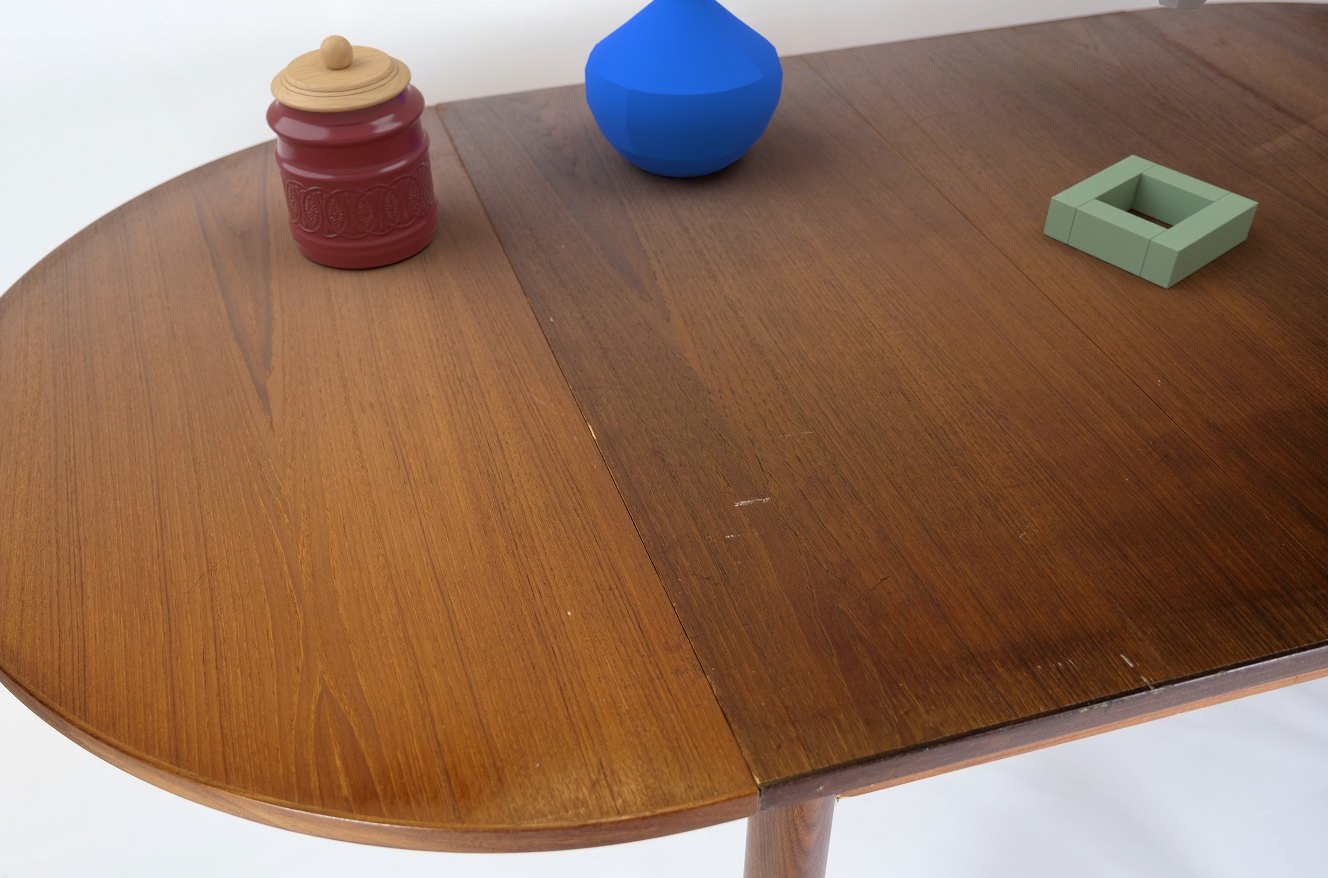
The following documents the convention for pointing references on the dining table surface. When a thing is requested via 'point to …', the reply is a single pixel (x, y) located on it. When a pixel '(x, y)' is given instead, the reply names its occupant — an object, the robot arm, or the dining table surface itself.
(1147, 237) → the pad socket
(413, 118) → the kitchen canister
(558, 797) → the dining table surface
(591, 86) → the vase
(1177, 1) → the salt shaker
